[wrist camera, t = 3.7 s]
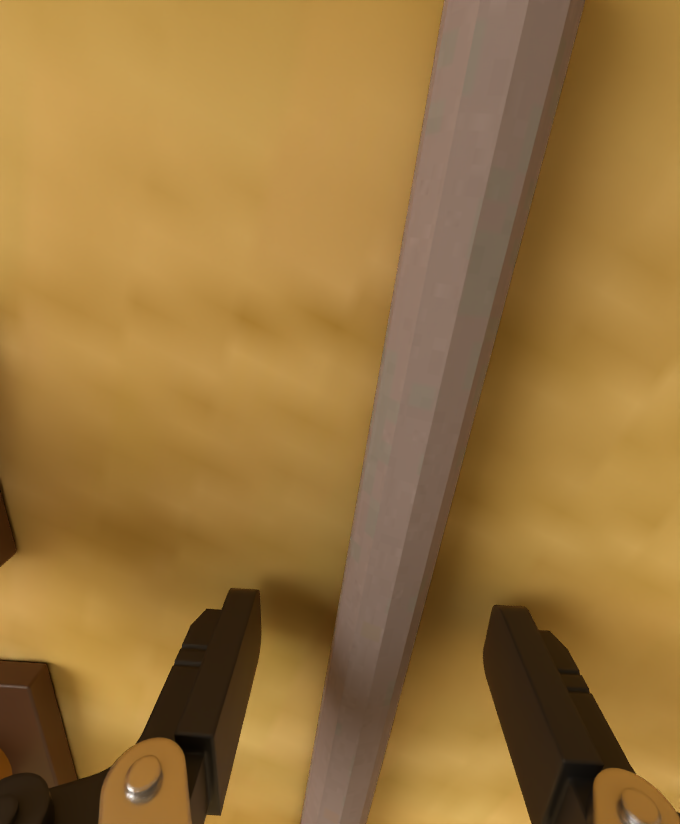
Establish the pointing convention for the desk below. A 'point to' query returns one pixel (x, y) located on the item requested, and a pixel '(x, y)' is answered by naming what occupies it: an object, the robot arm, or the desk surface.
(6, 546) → the red peg stand
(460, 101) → the metal rod
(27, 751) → the ochre post
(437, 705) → the desk surface
